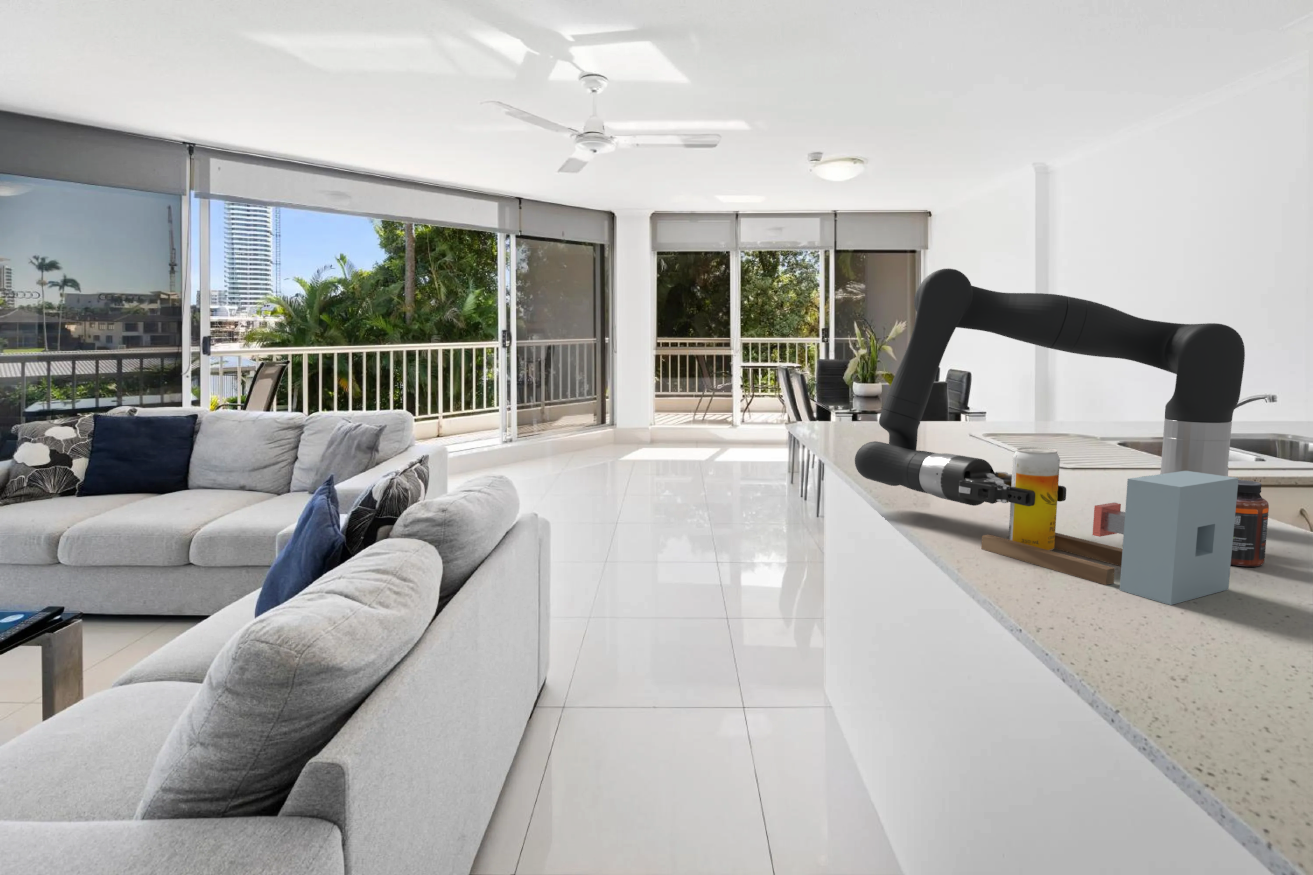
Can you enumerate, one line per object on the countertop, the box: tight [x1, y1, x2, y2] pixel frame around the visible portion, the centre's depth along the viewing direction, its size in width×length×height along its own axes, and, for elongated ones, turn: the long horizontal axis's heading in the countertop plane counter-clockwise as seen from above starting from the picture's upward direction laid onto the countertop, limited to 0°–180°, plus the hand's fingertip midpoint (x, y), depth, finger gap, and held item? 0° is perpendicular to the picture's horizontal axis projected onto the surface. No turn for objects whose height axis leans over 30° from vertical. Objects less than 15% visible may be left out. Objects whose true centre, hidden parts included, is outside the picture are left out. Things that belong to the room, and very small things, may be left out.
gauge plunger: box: [1092, 502, 1125, 538], centre depth 96 cm, size 4×10×4 cm, turn 26°
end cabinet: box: [1119, 471, 1240, 606], centre depth 92 cm, size 12×6×14 cm, turn 116°
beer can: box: [1007, 446, 1061, 551], centre depth 110 cm, size 6×6×15 cm
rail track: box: [980, 532, 1123, 586], centre depth 106 cm, size 11×19×2 cm, turn 26°
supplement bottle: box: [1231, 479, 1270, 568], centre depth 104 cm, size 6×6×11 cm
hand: (1048, 496), depth 108 cm, fingers closed on beer can, 6 cm apart
